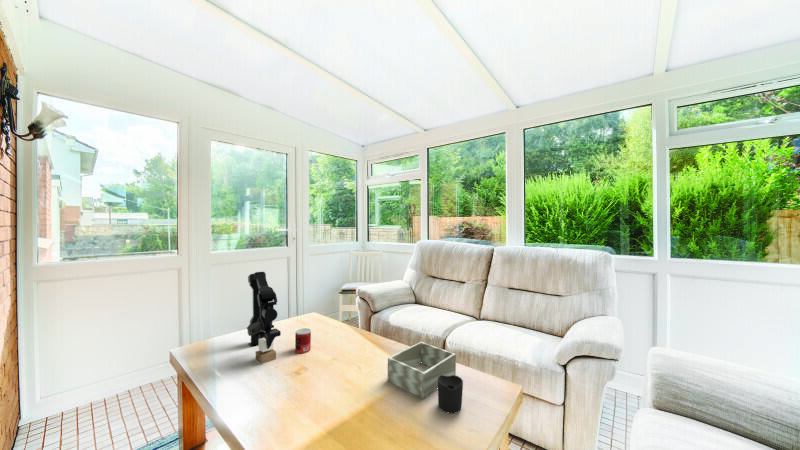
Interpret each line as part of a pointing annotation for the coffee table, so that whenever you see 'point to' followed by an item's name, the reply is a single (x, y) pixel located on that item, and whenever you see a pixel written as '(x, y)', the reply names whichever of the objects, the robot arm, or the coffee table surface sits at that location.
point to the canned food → (303, 341)
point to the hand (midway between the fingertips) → (265, 346)
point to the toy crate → (414, 378)
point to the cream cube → (264, 345)
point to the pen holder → (450, 393)
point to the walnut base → (265, 356)
